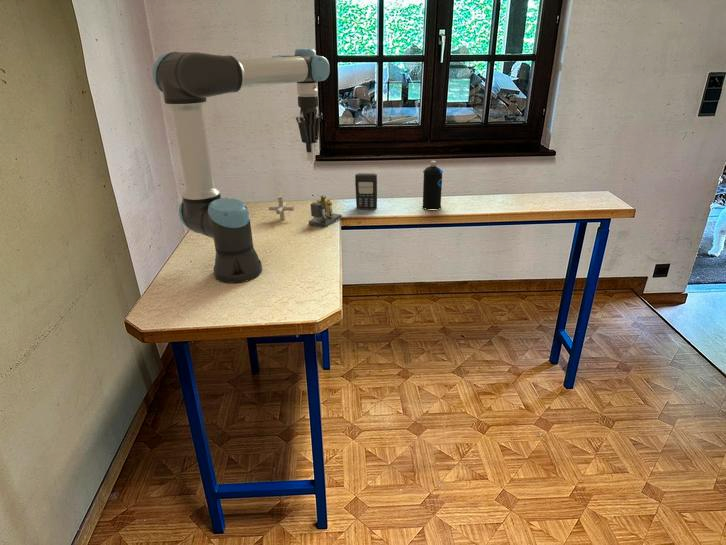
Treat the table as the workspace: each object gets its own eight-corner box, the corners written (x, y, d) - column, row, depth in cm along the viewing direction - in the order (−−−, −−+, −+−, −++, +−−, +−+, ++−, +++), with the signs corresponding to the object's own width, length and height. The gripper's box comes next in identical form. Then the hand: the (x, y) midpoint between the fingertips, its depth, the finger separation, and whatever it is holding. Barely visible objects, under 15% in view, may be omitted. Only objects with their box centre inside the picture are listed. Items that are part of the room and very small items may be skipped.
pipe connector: (297, 215, 200) (295, 192, 196) (291, 224, 192) (289, 200, 187) (274, 215, 201) (271, 192, 197) (267, 224, 192) (264, 200, 188)
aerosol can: (422, 210, 202) (424, 163, 193) (421, 204, 209) (422, 159, 200) (442, 210, 202) (444, 163, 193) (440, 204, 209) (442, 158, 200)
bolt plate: (325, 227, 187) (323, 207, 183) (308, 224, 191) (307, 204, 187) (341, 218, 196) (340, 198, 193) (325, 215, 200) (324, 195, 196)
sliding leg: (329, 218, 191) (328, 198, 187) (317, 216, 193) (316, 196, 190) (334, 215, 194) (333, 196, 190) (322, 213, 196) (321, 194, 192)
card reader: (355, 209, 206) (354, 175, 199) (356, 206, 209) (355, 172, 202) (376, 209, 205) (376, 175, 198) (377, 206, 208) (377, 172, 201)
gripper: (305, 97, 167) (309, 164, 177) (326, 94, 177) (328, 158, 187) (288, 96, 170) (293, 162, 180) (310, 93, 180) (313, 156, 190)
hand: (311, 160), depth 184 cm, fingers closed
